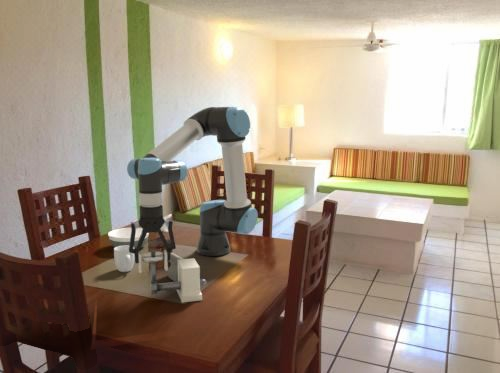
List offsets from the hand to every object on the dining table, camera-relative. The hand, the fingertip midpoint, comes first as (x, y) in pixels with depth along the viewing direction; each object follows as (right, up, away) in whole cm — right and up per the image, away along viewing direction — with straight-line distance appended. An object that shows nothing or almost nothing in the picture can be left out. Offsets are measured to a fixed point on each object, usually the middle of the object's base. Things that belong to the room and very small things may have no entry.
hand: (153, 270), depth 155 cm
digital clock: (+6, -7, +21) cm, 23 cm away
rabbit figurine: (-12, +4, +88) cm, 89 cm away
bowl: (-23, -1, +58) cm, 62 cm away
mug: (-17, -6, +29) cm, 34 cm away
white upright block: (+11, -9, +5) cm, 16 cm away
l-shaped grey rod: (+7, -8, +4) cm, 11 cm away
